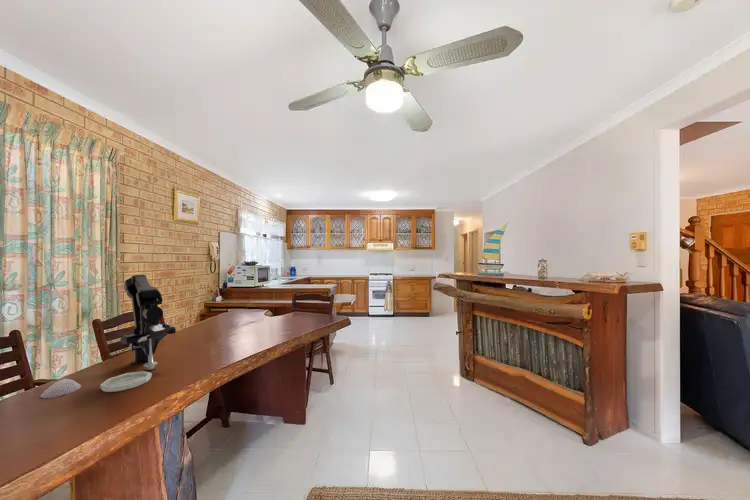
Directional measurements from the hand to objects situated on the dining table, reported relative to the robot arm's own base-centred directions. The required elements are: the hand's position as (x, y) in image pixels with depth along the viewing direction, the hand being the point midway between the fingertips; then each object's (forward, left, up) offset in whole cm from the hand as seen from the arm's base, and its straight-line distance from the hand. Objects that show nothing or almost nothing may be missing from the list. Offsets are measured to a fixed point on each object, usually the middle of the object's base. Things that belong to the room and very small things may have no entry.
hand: (150, 354), depth 130 cm
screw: (0, 0, -6) cm, 6 cm away
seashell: (-7, -26, -7) cm, 27 cm away
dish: (+8, -12, -6) cm, 16 cm away
